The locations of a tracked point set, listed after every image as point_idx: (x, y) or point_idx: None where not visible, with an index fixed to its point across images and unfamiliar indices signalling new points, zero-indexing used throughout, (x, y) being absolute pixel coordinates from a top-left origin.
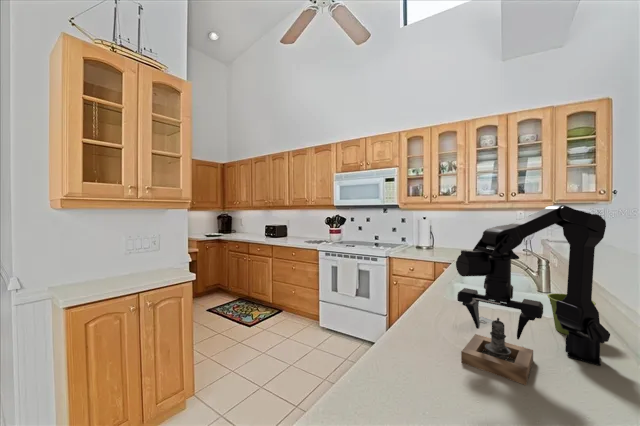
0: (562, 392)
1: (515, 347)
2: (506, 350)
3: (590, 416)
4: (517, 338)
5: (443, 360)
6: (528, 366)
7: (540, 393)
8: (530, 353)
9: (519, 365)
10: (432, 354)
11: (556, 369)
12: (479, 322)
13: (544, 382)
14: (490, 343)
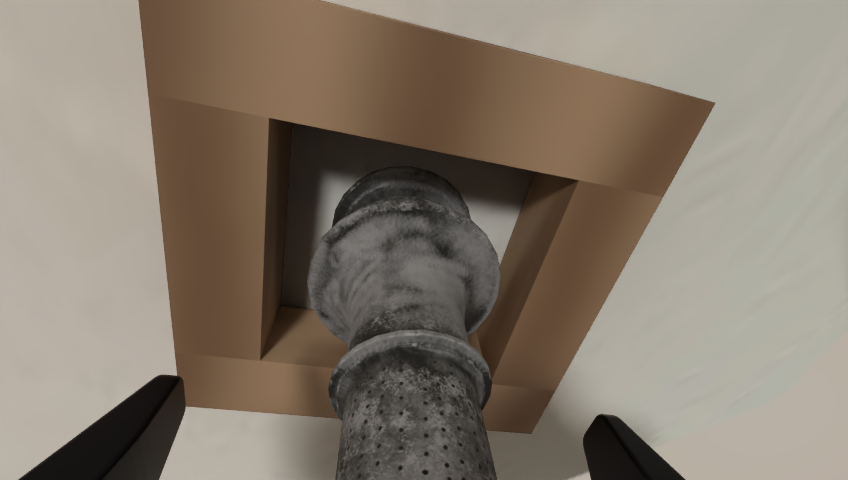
0: (648, 354)
1: (562, 134)
2: (467, 319)
3: (665, 433)
4: (588, 451)
5: (121, 371)
6: (564, 368)
7: (552, 398)
8: (653, 193)
9: (514, 391)
10: (28, 345)
11: (757, 136)
12: (140, 445)
13: (605, 317)
14: (346, 309)
